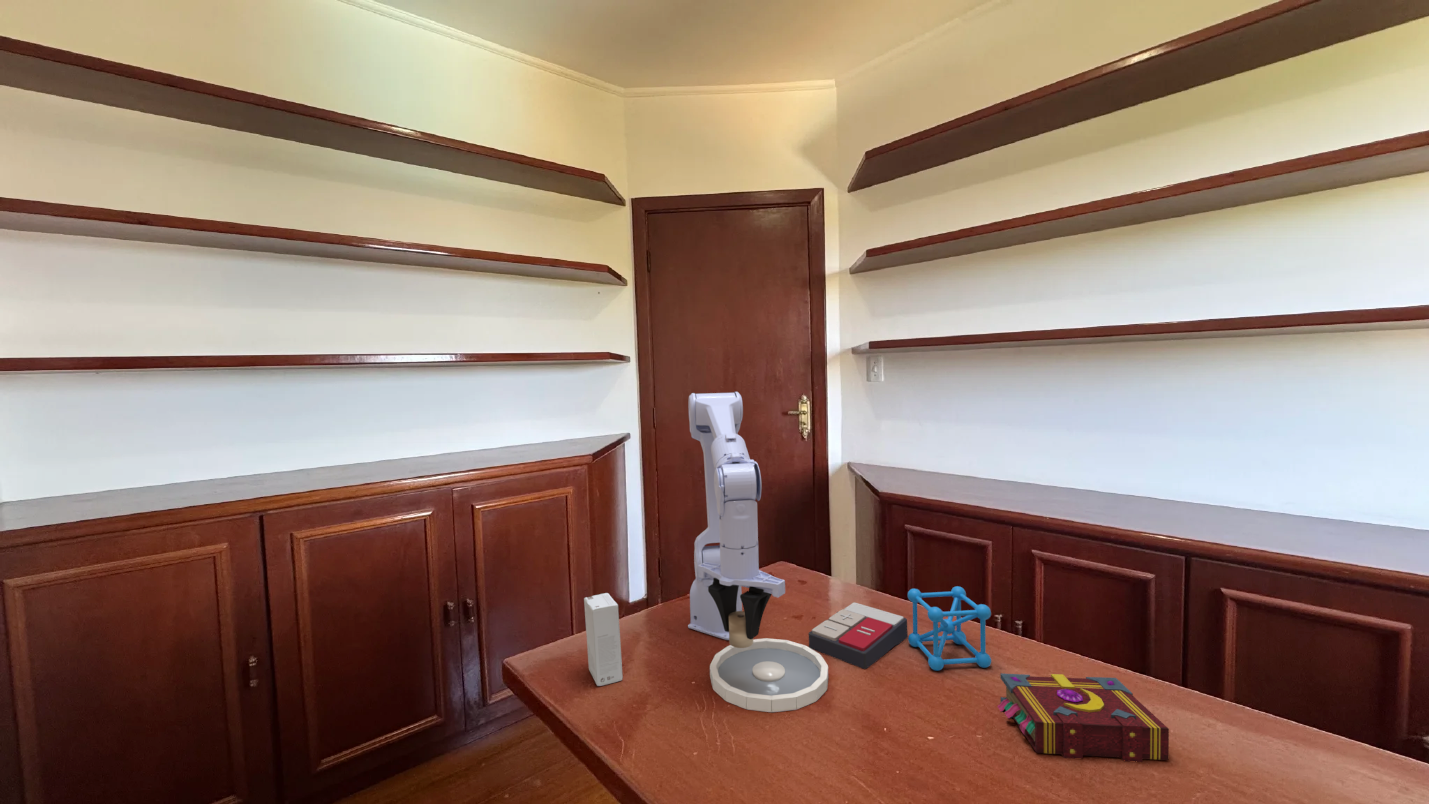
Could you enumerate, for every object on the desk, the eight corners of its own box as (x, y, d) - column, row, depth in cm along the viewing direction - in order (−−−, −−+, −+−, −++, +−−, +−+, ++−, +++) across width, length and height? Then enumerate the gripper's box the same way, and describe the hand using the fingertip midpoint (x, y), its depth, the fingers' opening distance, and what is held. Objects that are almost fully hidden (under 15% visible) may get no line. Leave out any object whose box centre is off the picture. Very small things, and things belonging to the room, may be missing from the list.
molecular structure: (994, 670, 87) (994, 607, 87) (932, 674, 87) (931, 610, 86) (962, 640, 97) (961, 583, 97) (906, 643, 97) (905, 586, 96)
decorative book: (1171, 766, 66) (1172, 724, 65) (1026, 757, 68) (1025, 717, 68) (1115, 709, 77) (1115, 673, 77) (991, 703, 79) (991, 669, 79)
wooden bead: (724, 643, 84) (723, 617, 84) (738, 634, 87) (737, 608, 86) (744, 650, 82) (743, 623, 81) (757, 640, 84) (757, 614, 84)
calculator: (806, 628, 96) (852, 598, 107) (808, 653, 96) (853, 620, 107) (864, 649, 88) (907, 614, 99) (865, 675, 89) (908, 637, 99)
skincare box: (623, 680, 87) (621, 604, 87) (595, 688, 85) (592, 610, 85) (613, 663, 93) (610, 591, 92) (586, 669, 91) (583, 596, 90)
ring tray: (687, 685, 85) (686, 674, 85) (751, 639, 100) (751, 629, 99) (791, 727, 74) (791, 714, 74) (846, 668, 89) (846, 657, 89)
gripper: (684, 542, 85) (687, 630, 85) (765, 559, 76) (768, 657, 76) (713, 531, 90) (715, 614, 91) (791, 546, 81) (793, 637, 82)
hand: (741, 632), depth 84 cm, fingers closed on wooden bead, 4 cm apart
